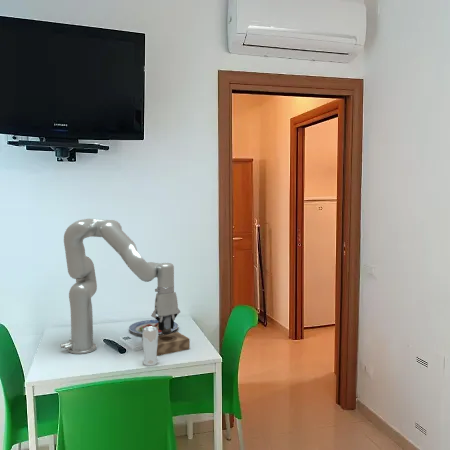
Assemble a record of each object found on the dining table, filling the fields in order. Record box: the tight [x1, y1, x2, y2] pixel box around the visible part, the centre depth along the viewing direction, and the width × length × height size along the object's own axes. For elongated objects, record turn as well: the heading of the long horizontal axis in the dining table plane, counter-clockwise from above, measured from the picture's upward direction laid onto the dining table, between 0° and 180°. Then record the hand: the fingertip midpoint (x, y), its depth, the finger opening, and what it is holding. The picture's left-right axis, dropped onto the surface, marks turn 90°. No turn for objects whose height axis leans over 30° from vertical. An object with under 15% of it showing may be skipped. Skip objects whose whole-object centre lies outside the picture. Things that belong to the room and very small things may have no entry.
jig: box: [157, 331, 191, 357], centre depth 209 cm, size 18×12×6 cm, turn 123°
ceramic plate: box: [128, 319, 179, 335], centre depth 238 cm, size 26×26×3 cm
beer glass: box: [141, 326, 159, 367], centre depth 191 cm, size 7×7×15 cm
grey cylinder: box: [161, 315, 172, 335], centre depth 208 cm, size 4×4×8 cm
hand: (166, 328), depth 209 cm, fingers closed on grey cylinder, 4 cm apart
